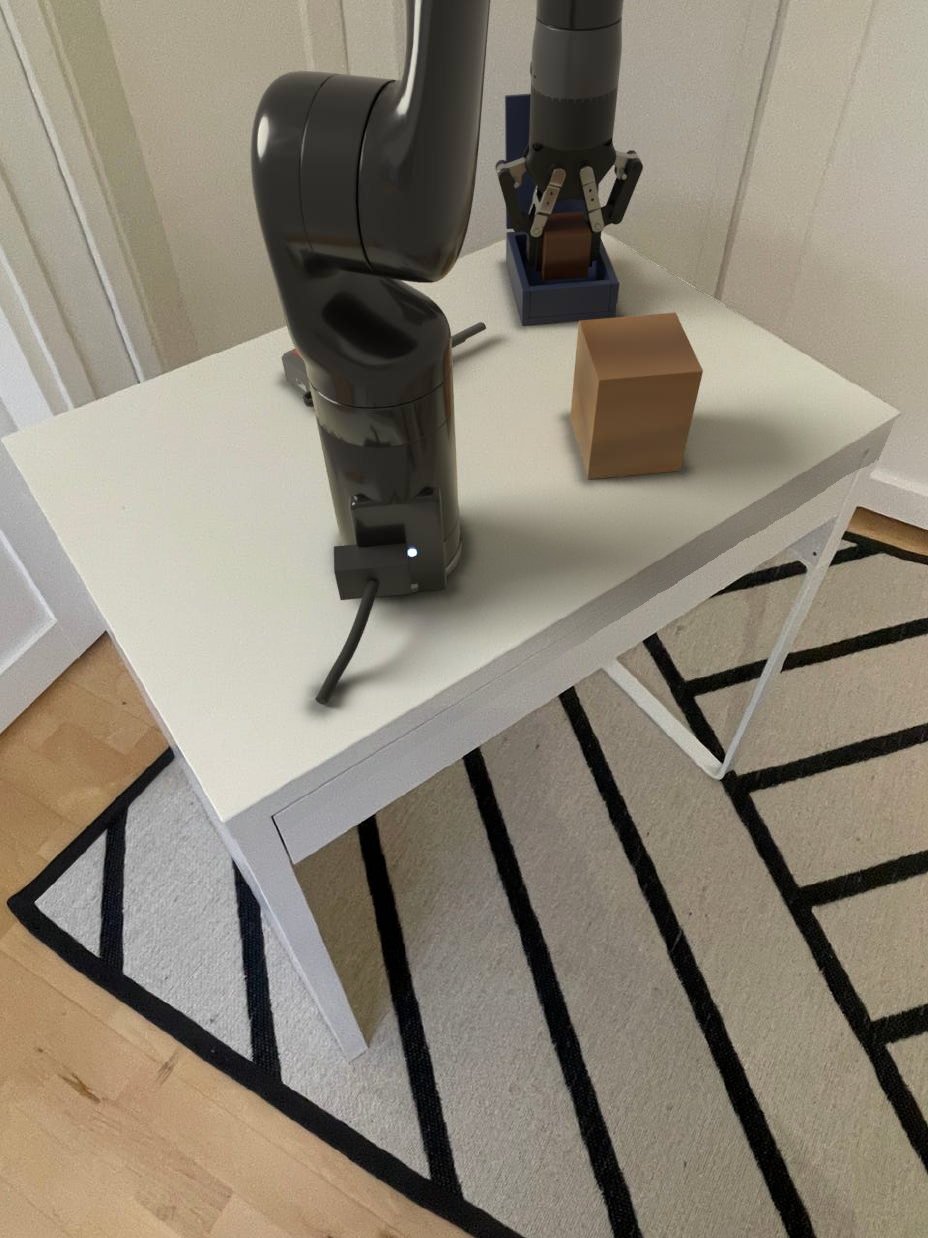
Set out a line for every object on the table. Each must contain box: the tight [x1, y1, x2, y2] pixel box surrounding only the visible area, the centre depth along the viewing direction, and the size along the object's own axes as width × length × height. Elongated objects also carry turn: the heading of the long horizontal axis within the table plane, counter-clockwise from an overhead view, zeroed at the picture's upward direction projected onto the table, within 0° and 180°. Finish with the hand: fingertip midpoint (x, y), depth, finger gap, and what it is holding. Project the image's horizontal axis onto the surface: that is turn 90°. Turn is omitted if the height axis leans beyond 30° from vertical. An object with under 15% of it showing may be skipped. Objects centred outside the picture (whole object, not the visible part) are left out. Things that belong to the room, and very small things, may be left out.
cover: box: [504, 92, 600, 230], centre depth 88 cm, size 12×10×5 cm
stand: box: [569, 312, 704, 480], centre depth 71 cm, size 8×8×10 cm
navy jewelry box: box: [505, 230, 620, 326], centre depth 89 cm, size 12×10×4 cm
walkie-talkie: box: [281, 321, 487, 408], centre depth 81 cm, size 9×4×20 cm
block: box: [541, 211, 592, 281], centre depth 85 cm, size 4×4×4 cm
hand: (562, 264), depth 87 cm, fingers closed on block, 4 cm apart
